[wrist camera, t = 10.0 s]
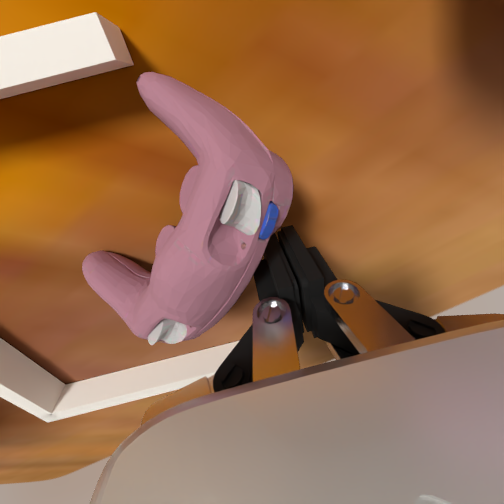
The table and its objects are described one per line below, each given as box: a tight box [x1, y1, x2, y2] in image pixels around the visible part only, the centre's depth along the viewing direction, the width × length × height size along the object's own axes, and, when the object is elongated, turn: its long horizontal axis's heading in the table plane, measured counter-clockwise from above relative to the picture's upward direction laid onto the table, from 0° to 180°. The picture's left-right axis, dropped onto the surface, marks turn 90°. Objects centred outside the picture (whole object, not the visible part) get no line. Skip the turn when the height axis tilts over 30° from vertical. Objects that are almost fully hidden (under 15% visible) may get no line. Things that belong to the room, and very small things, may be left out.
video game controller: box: [82, 72, 293, 345], centre depth 10 cm, size 10×5×7 cm, turn 148°
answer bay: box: [0, 12, 240, 422], centre depth 13 cm, size 15×19×2 cm
